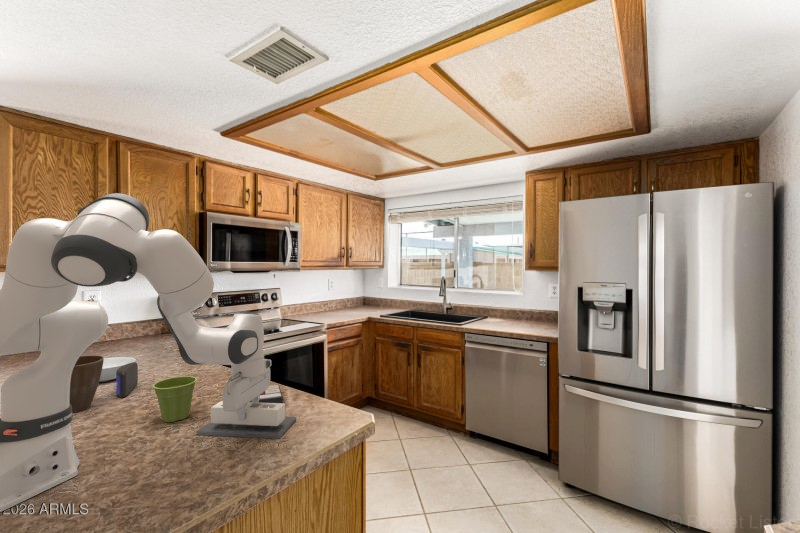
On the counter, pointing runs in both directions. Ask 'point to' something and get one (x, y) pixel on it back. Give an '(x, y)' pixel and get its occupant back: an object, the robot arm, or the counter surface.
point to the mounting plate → (247, 429)
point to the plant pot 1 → (85, 381)
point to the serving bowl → (113, 367)
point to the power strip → (250, 414)
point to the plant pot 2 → (175, 397)
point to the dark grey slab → (126, 379)
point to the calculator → (271, 395)
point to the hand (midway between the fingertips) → (248, 415)
